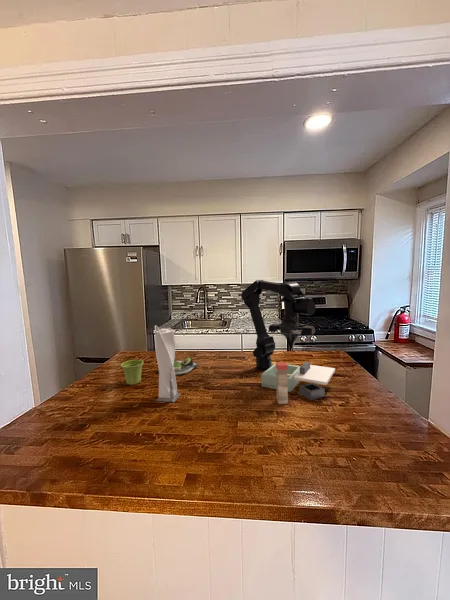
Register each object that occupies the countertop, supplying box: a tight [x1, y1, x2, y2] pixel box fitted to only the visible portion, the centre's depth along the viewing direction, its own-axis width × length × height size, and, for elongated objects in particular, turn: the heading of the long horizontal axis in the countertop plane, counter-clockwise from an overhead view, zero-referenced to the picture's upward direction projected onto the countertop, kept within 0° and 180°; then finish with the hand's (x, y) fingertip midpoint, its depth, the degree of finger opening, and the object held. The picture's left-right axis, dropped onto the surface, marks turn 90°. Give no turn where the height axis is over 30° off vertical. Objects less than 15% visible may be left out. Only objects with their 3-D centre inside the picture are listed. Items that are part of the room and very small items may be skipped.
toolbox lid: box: [294, 361, 336, 386], centre depth 112 cm, size 12×16×4 cm
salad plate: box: [157, 357, 200, 376], centre depth 139 cm, size 19×18×5 cm
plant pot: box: [120, 359, 144, 386], centre depth 125 cm, size 9×9×9 cm
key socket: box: [298, 382, 326, 401], centre depth 107 cm, size 6×6×3 cm
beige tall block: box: [275, 361, 289, 405], centre depth 102 cm, size 3×3×14 cm
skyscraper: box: [153, 324, 182, 403], centre depth 109 cm, size 8×8×28 cm
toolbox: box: [260, 362, 302, 393], centre depth 120 cm, size 12×16×5 cm
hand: (291, 348), depth 123 cm, fingers closed
